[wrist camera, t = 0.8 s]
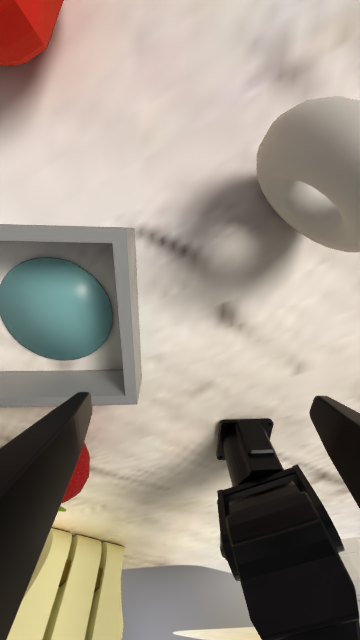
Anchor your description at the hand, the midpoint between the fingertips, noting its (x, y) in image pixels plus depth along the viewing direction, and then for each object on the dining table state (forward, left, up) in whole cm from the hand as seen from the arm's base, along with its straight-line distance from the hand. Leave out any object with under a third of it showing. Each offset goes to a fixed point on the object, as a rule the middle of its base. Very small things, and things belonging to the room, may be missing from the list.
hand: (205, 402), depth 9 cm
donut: (+9, -8, -14) cm, 18 cm away
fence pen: (-1, +12, -13) cm, 18 cm away
